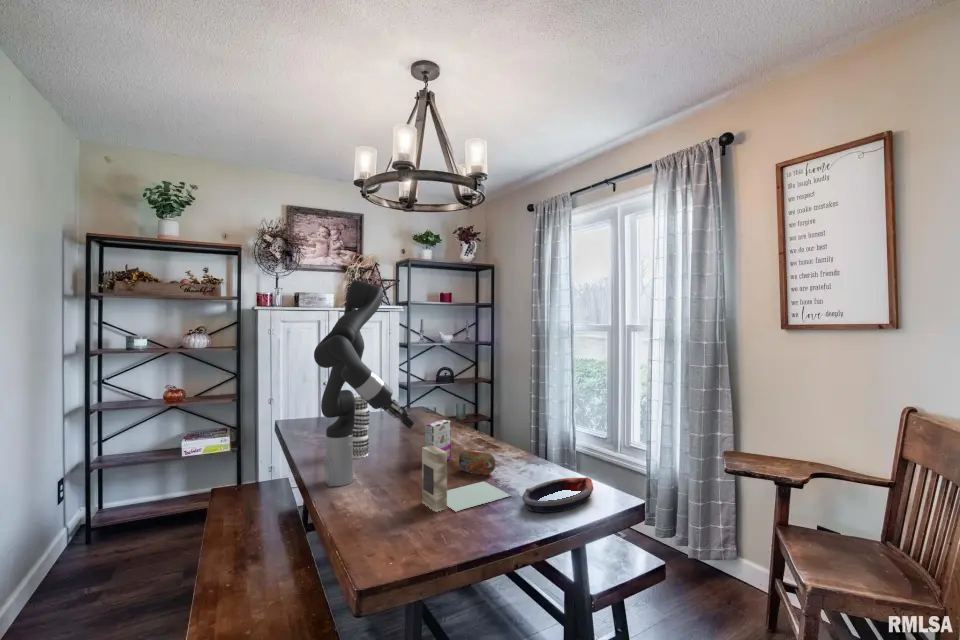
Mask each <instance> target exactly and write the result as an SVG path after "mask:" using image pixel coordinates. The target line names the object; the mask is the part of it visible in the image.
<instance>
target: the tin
mask: <svg viewBox="0 0 960 640" xmlns="http://www.w3.org/2000/svg"><path fill="white" fill-rule="evenodd" d="M458 464H459V467H460V468H461V470H462V471H463V472H465V471H467V472H466V473H468V472H472V473H471V474H474V473H478V474H477V475H480V474H483V475H482V476H488V475H491V473H493V472H494V470H495V469H496V460H495V457H494V455H492V453H490V452H486V451H482V450H481V451H480V450H474V449H473V450H472V449H468V450H464V451H462V452H461V453H460V455H459V457H458Z"/></svg>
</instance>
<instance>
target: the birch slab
mask: <svg viewBox="0 0 960 640" xmlns="http://www.w3.org/2000/svg"><path fill="white" fill-rule="evenodd" d="M447 490H448V461H447V452H445V451H443V450H441V449H439V448H437V447H435V446H428V447H425V446H424V447H421V503H422V504H423V505H424V504H425V505H424V506H426V507H427V506H428V507H429V508H428V507H427V508H428V509H430V510H431V509H432V510H431V511H433V512H434V511H435V512H437V513H439V512H438V511H440V512H442V511H441V510H444V509H448V507H447ZM444 511H445V510H444ZM435 512H434V513H435Z"/></svg>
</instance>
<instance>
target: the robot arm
mask: <svg viewBox="0 0 960 640" xmlns="http://www.w3.org/2000/svg"><path fill="white" fill-rule="evenodd" d="M383 291H384V290H383V289H382V288H381V287H380V286H378V285H375V284H372V283H369V282H366V281H362V280H358V279H357V280H356V279H355V280H352V281H351V283H350V285H349V287H348V291H347V293H346V298H345V299H346V300H345V306H344V311H343V315H341V317H339V318H338V319H337V321H336V323H335V324H334V326H333V327H332V329H331V330H330V332H329V333H327V335H326V336H325V337H324V338H323V339H322V340H321V341H319V343H318V344H317V346H316V347H315V349H314V352H313V358H314V362H315V363H316V364H317V365H318V366H319V367H321V368H323V369H329V368H330V374H329V376H328V380H327V383H326V385H325V389H324V391H323V394H322V398H321V403H320V407H321V413H322V415H323V416H324V417H325V418H331V419H333V418H337V419H336V421H335V422H333V423H332V424H330V425H329V426H328V427H326V431H325V434H326V435H325V437H326V438H325V439H326V441H325V442H326V443H325V445H326V446H325V451H326V452H325V453H326V455H324V483H325V484H326V485H327V486H328V487H329V488H330V487H342V486H346V485H349V484H351V483H353V480H354V472H353V471H354V470H353V467H354V465H353V464H354V458H353V428H354V419H355V398H354V397H355V395H354V393H353V392H352V391H351V390H350V389H342V388H343V386H344V384H345V383H346V384H348V385H349V386H350V387H351V388H353V390H354V391H355V392H356V393H357V395H358V396H359V397H362V398H363V399H364V400H365V401H366V402H367V403H368V405H369V406H370V407H371V408H372V409H374V410H379V409H381V410H383V412H386V414H388V415H390V416H391V417H392V418H393V419H396V420H397V421H398V422H400V423H401V424H403V426H405V427H406V428H408V429H412V427H413V426H414V425H415V423H414V421H413V420H412V419H410V418H409V413H408V411H406V409H405V408H404V406H401V405H400V404H399V402H398V401H397V400H396V399H392V396H393V393H394V392H393V389H392V388H391V386H389V385H388V384H387V383H386V382H385V381H384V380H383V379H382V378H381V377H380V376H378V375H377V374H376V373H375V372H373V371H372V370H371V369H370V368H369V367H368V366H367V365H366V364H365V363H363V361H362V358H363V354H364V351H365V342H364V338H363V336H362V335H363V334H362V332H361V329H362V328H363V327H364V325H365V324H366V323H367V322H368V321H369V320H370V319H371V318H372V317H373V316H374V314H375V313H376V312H377V311H378V309H379V308H380V306H381V304H382V300H383V295H384V292H383Z"/></svg>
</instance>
